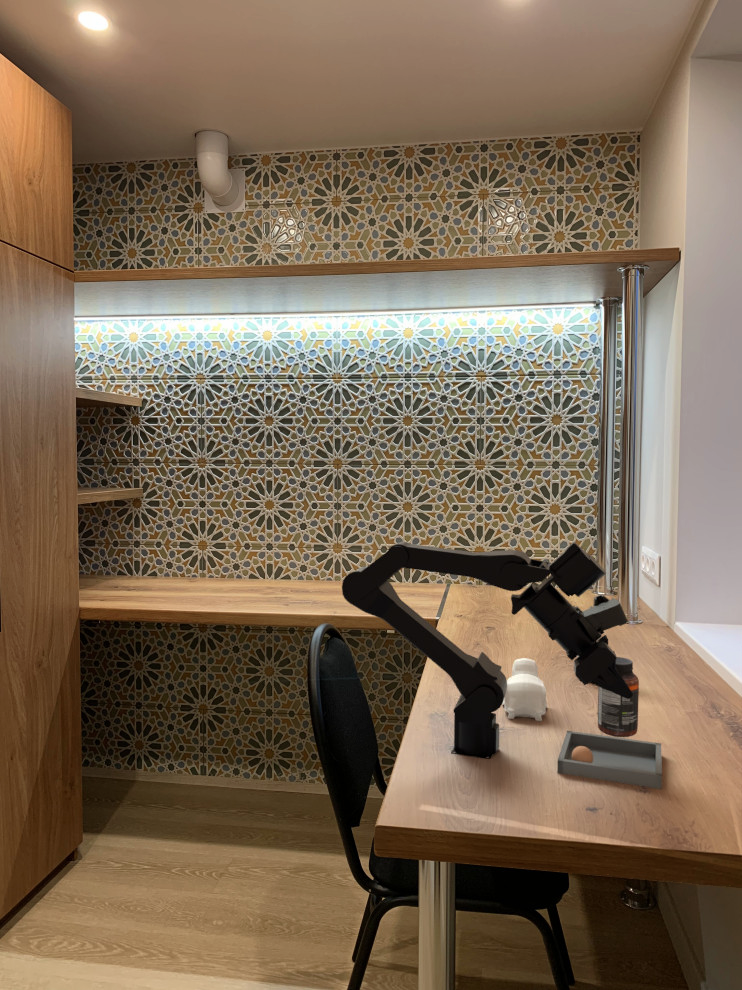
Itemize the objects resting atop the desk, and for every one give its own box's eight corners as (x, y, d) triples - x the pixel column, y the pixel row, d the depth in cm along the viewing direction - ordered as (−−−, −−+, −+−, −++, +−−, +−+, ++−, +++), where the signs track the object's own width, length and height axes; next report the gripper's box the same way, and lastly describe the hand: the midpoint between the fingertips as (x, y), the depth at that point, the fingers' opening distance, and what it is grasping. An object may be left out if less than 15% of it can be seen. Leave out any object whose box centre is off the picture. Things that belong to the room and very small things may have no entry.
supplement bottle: (613, 721, 118) (615, 652, 117) (645, 733, 113) (648, 661, 112) (589, 728, 114) (591, 658, 113) (621, 741, 109) (623, 668, 109)
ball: (570, 769, 111) (570, 749, 110) (572, 761, 114) (572, 741, 113) (592, 773, 110) (592, 752, 109) (593, 764, 112) (594, 744, 112)
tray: (557, 776, 110) (557, 760, 110) (566, 745, 121) (567, 730, 121) (661, 792, 104) (661, 775, 104) (660, 758, 116) (661, 743, 116)
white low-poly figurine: (548, 738, 132) (546, 684, 146) (549, 701, 129) (547, 650, 142) (500, 735, 134) (503, 682, 147) (500, 698, 130) (503, 647, 144)
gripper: (602, 593, 104) (682, 674, 102) (589, 572, 122) (656, 641, 120) (544, 643, 106) (621, 724, 104) (540, 615, 124) (605, 684, 122)
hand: (627, 690), depth 113 cm, fingers closed on supplement bottle, 6 cm apart
